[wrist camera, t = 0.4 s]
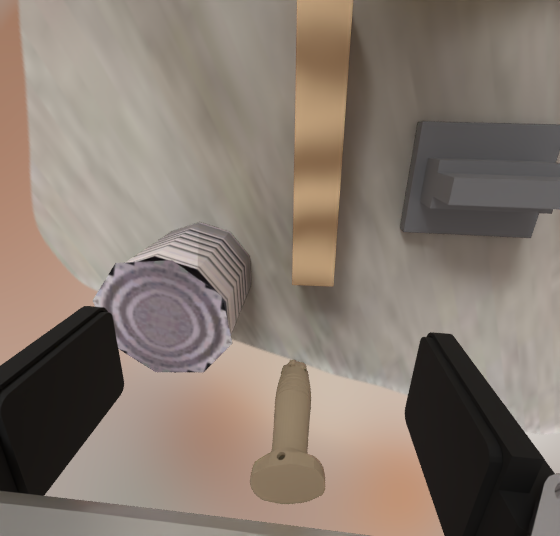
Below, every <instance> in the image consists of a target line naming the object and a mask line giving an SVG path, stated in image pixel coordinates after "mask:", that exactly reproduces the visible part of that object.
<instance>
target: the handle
mask: <svg viewBox="0 0 560 536" xmlns="http://www.w3.org/2000/svg"><path fill="white" fill-rule="evenodd" d="M310 409H311V391H310V382H309V377H308V371H307V370H306V365H305V364H304V363H301V362H297V361H295V360H291V361H290V362H289V363H288V364H287V365H284V366H283V368H282V372H281V377H280V380H279V383H278V387H277V392H276V399H275V414H274V431H273V444H272V451H271V453H269V454H267V455H265V456H263V457H262V458H260V459H258V460H257V461H256V462H255V463H254V465H253V468H252V472H251V478H250V485H251V488H252V490H253V492H254V493H255V494H256V495H257V496H258V497H259V498H260V499H262V500H265V501H269V502H275V503H280V504H294V503H302V502H307V501H310V500H312V499H315V498H317V497H319V496H321V495H322V494H323V493H324V490H325V474H324V469H323V467H322V464H321V463H320V461H319V460H318V459H317V458H315V457H314V456H312V455H309V454H307V447H308V432H309V419H310Z"/></svg>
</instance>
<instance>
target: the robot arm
mask: <svg viewBox="0 0 560 536" xmlns="http://www.w3.org/2000/svg"><path fill="white" fill-rule="evenodd" d="M123 387H124V379H123V374H122V368H121V362H120V356H119V350H118V344H117V338H116V332H115V326H114V321H113V316H112V314H111V313H109V312H108V311H107V309H106V308H104V307H91V306H84V307H82V308H81V309H79V310H78V311H76V312H75V313H74V314H72V315H71V316H70V317H68V318H67V319H65V320H64V321H63V322H61V323H60V324H58V325H57V326H55V327H54V328H53V329H51V330H50V331H48V332H47V333H46V334H44V335H43V336H41V337H40V338H39V339H37V340H36V341H34V342H33V343H32V344H30V345H29V346H27V347H26V348H25V349H23V350H22V351H21V352H19V353H18V354H16V355H15V356H14V357H12V358H11V359H9V360H8V361H6V362H5V363H4V364H2V365H1V366H0V536H368V535H361V534H353V533H345V532H338V531H330V530H321V529H314V528H306V527H298V526H291V525H283V524H275V523H267V522H259V521H251V520H243V519H235V518H225V517H218V516H210V515H202V514H194V513H185V512H177V511H168V510H160V509H152V508H144V507H135V506H127V505H119V504H110V503H100V502H93V501H84V500H75V499H67V498H58V497H48V496H44V495H45V493H46V492H47V491H48V490H49V489H50V487H51V486H52V485H53V483H54V482H55V480H56V479H57V478H58V477H59V475H60V474H61V473H62V471H63V470H64V469H65V467H66V466H67V465H68V463H69V462H70V461H71V460H72V458H73V457H74V455H75V454H76V453H77V452H78V450H79V449H80V448H81V446H82V445H83V444H84V442H85V441H86V440H87V438H88V437H89V436H90V434H91V433H92V432H93V431H94V429H95V428H96V427H97V425H98V424H99V423H100V421H101V420H102V419H103V417H104V416H105V415H106V413H107V412H108V411H109V409H110V408H111V407H112V406H113V404H114V403H115V402H116V400H117V399H118V398H119V396H120V395H121V393H122V391H123ZM405 420H406V424H407V427H408V429H409V432H410V435H411V439H412V441H413V444H414V447H415V450H416V453H417V456H418V459H419V462H420V465H421V468H422V471H423V474H424V477H425V479H426V483H427V486H428V488H429V491H430V494H431V497H432V500H433V503H434V506H435V509H436V512H437V515H438V517H439V520H440V524H441V526H442V529H443V532H444V535H445V536H560V473H556V474H555V473H554V472H553V471H552V469H551V468H550V467H549V465H548V464H547V463H546V461H545V459H544V458H543V457H542V455H541V454H540V452H539V451H538V450H537V448H536V447H535V446H534V444H533V443H532V442H531V440H530V439H529V438H528V436H527V435H526V434H525V432H524V431H523V429H522V428H521V427H520V425H519V424H518V423H517V421H516V420H515V419H514V417H513V416H512V415H511V413H510V412H509V411H508V409H507V408H506V407H505V405H504V404H503V402H502V401H501V400H500V398H499V397H498V396H497V394H496V393H495V392H494V390H493V389H492V388H491V386H490V385H489V384H488V382H487V381H486V379H485V378H484V377H483V375H482V374H481V373H480V371H479V370H478V369H477V367H476V366H475V365H474V363H473V362H472V361H471V359H470V358H469V356H468V355H467V354H466V352H465V351H464V350H463V348H462V347H461V346H460V344H459V343H458V342H457V340H456V339H455V338H454V336H453V335H452V334H444V333H431V332H430V333H429V334H428V335H427V337H422V338H421V340H420V344H419V349H418V353H417V358H416V362H415V367H414V371H413V376H412V380H411V385H410V389H409V394H408V398H407V403H406V407H405Z"/></svg>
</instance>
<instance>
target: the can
mask: <svg viewBox="0 0 560 536" xmlns="http://www.w3.org/2000/svg"><path fill="white" fill-rule="evenodd" d="M250 287H251V268H250V256H249V254H248V253H247V252H246V251H245V249H244V248H243V247H242V246H241V245H240V243H239V242H238V241H237V240H236V238H235V237H234V236H233V235H232V233H231V232H230V231H227V230H224V229H220V228H217V227H214V226H211V225H208V224H205V223H201V222H197V223H194V224H191V225H189V226H186V227H183V228H180V229H177V230H174V231H171V232H170V233H168V234H167V235H165V236H164V237H162V238H161V239H159V240H158V241H156V242H155V243H153V244H152V245H151V246H149V247H148V248H146V249H145V250H143V251H142V252H140V253H139V254H137V255H136V256H134V257H133V258H131V259H130V260H128V261H127V262H125V263H115V265H114V267H113V268H112V270H111V272H110V273H109V275H108V276H107V278H106V280H105V281H104V283H103V285H102V286H101V288H100V289H99V291H98V293H97V294H96V296H95V297H94V299H93V302H94V305H95V307H104V308H106V309H107V311H108V312H109V313H111V314H112V316H113V321H114V326H115V332H116V338H117V344H118V349H120V350H121V351H123V352H124V353H126V354H128V355H129V356H131V357H132V358H134V359H136V360H137V361H138V362H140V363H142V364H144V365H145V366H147V367H148V368H150V369H152V370H153V371H155V372H204V371H205V370H206V369H207V368H208V367H209V366H210V365H211V364H212V363H213V362H214V361H215V360H216V359H217V358H218V357H219V356H220V355H221V354H222V353H223V352H224V351H225V350H226V349H227V348H228V347H229V346H230V345H231V344H232V339H231V333H232V331H233V328H234V326H235V324H236V321H237V319H238V316H239V314H240V311H241V309H242V306H243V304H244V301H245V299H246V296H247V294H248V291H249V289H250Z"/></svg>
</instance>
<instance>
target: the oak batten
mask: <svg viewBox="0 0 560 536" xmlns="http://www.w3.org/2000/svg"><path fill="white" fill-rule="evenodd" d="M352 9H353V0H297V37H296V96H295V155H294V213H293V272H292V285H310V286H333V284H334V269H335V255H336V240H337V226H338V211H339V197H340V182H341V168H342V154H343V139H344V125H345V110H346V96H347V81H348V67H349V52H350V38H351V23H352Z"/></svg>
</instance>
